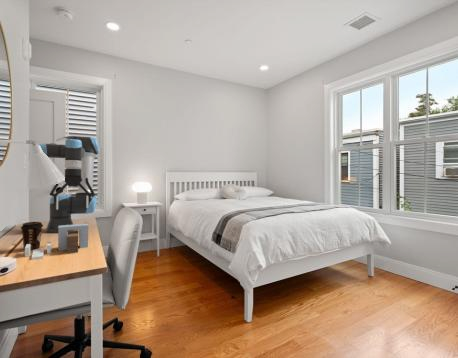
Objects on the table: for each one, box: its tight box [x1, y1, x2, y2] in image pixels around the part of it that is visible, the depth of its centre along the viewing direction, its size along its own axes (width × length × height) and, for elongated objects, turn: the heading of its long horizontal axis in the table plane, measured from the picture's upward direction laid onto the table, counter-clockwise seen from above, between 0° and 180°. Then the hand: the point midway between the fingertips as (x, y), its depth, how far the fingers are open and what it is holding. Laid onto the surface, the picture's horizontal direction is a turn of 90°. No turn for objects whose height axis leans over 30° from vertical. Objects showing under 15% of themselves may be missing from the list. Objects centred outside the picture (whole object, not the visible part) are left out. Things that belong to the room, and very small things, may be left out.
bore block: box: [57, 223, 89, 252], centre depth 129 cm, size 5×13×11 cm, turn 124°
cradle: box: [24, 241, 52, 261], centre depth 117 cm, size 13×10×4 cm
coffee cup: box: [20, 221, 44, 252], centre depth 125 cm, size 9×8×13 cm
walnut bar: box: [66, 230, 79, 255], centre depth 127 cm, size 14×4×8 cm, turn 30°
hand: (72, 208), depth 135 cm, fingers open, 13 cm apart
